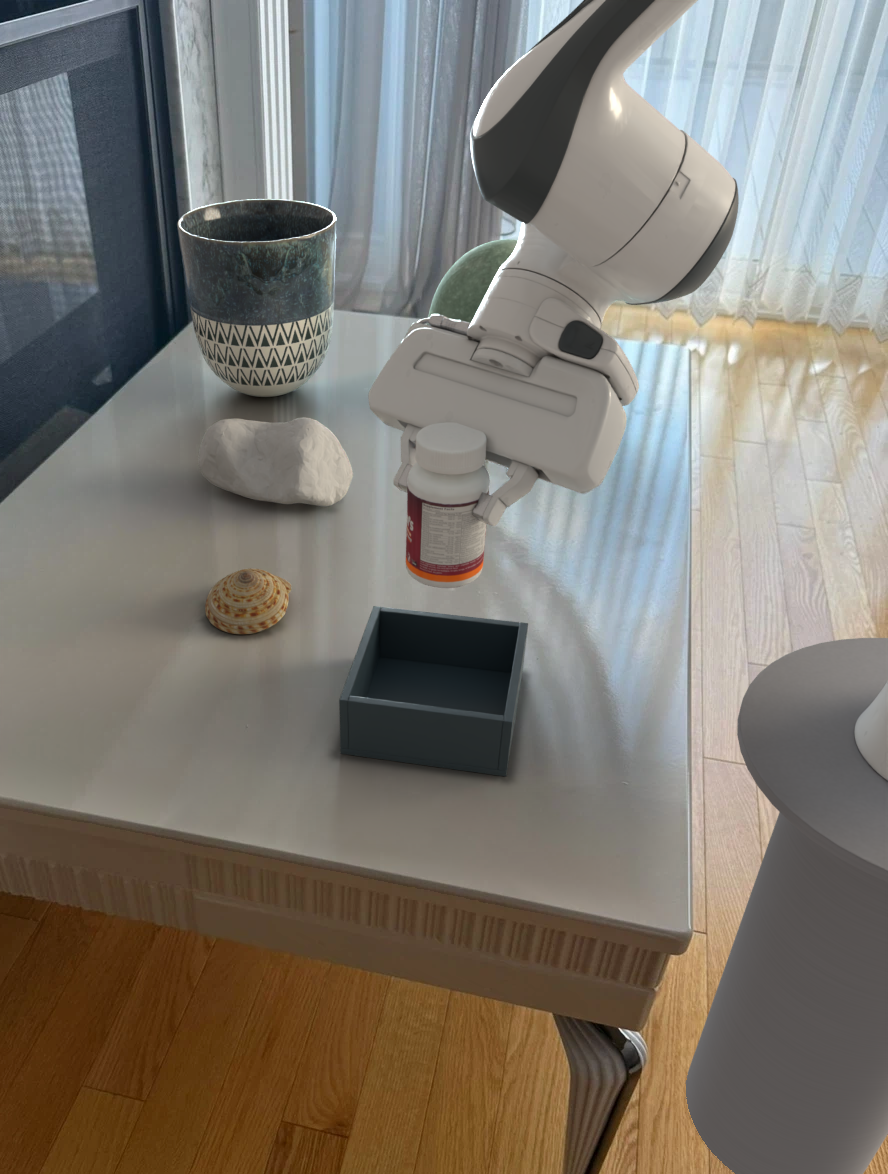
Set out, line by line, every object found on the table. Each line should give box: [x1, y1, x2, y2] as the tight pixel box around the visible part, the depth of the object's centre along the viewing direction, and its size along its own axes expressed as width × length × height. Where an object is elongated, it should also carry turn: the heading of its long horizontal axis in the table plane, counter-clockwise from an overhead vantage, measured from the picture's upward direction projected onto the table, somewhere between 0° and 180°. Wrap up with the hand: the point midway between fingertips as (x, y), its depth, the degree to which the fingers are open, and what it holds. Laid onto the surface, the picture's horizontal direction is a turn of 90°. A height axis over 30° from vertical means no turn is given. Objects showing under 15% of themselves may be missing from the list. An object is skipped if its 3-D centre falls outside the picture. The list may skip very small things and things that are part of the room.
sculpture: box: [426, 238, 519, 325], centre depth 132 cm, size 19×16×20 cm
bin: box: [338, 605, 529, 777], centre depth 87 cm, size 13×13×6 cm
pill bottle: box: [405, 422, 491, 589], centre depth 79 cm, size 6×6×11 cm
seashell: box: [204, 568, 292, 635], centre depth 100 cm, size 8×6×8 cm
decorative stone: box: [197, 416, 354, 508], centre depth 117 cm, size 17×10×10 cm
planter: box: [176, 198, 337, 398], centre depth 135 cm, size 20×20×21 cm
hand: (443, 505), depth 79 cm, fingers closed on pill bottle, 6 cm apart
